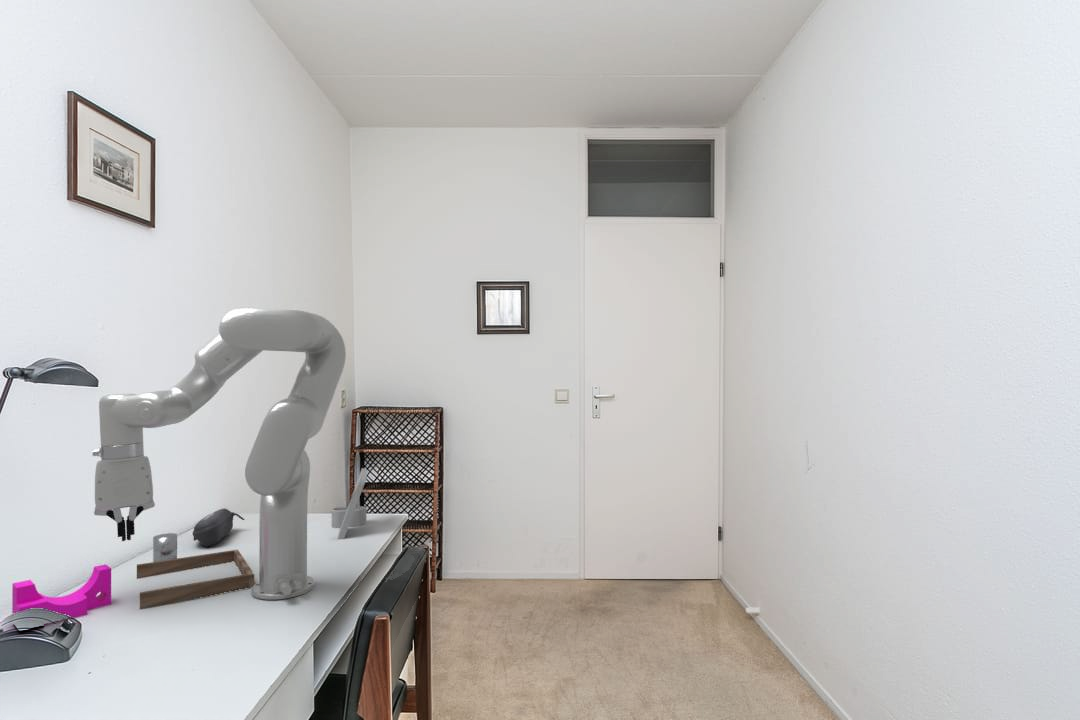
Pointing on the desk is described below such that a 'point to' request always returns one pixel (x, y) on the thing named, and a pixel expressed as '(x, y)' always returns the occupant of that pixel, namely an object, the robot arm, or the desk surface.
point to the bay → (194, 589)
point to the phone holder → (351, 510)
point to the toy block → (69, 604)
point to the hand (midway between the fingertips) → (126, 539)
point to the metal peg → (164, 547)
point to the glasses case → (214, 527)
